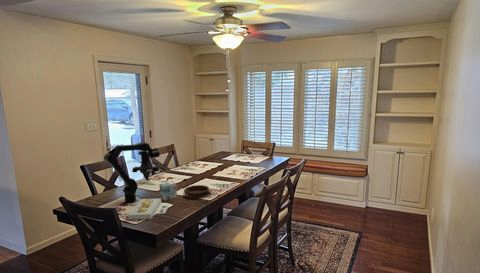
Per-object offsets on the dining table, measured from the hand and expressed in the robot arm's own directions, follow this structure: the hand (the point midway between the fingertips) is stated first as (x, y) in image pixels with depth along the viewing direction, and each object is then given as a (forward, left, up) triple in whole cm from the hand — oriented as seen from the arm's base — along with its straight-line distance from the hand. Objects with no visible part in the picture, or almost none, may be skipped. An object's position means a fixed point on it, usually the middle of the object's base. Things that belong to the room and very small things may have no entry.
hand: (147, 180), depth 217 cm
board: (+6, -27, -12) cm, 31 cm away
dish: (+36, -2, -12) cm, 38 cm away
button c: (+6, -20, -12) cm, 24 cm away
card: (+17, -27, -12) cm, 34 cm away
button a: (+6, -34, -12) cm, 37 cm away
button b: (+6, -27, -10) cm, 30 cm away
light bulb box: (+16, -5, -12) cm, 21 cm away
